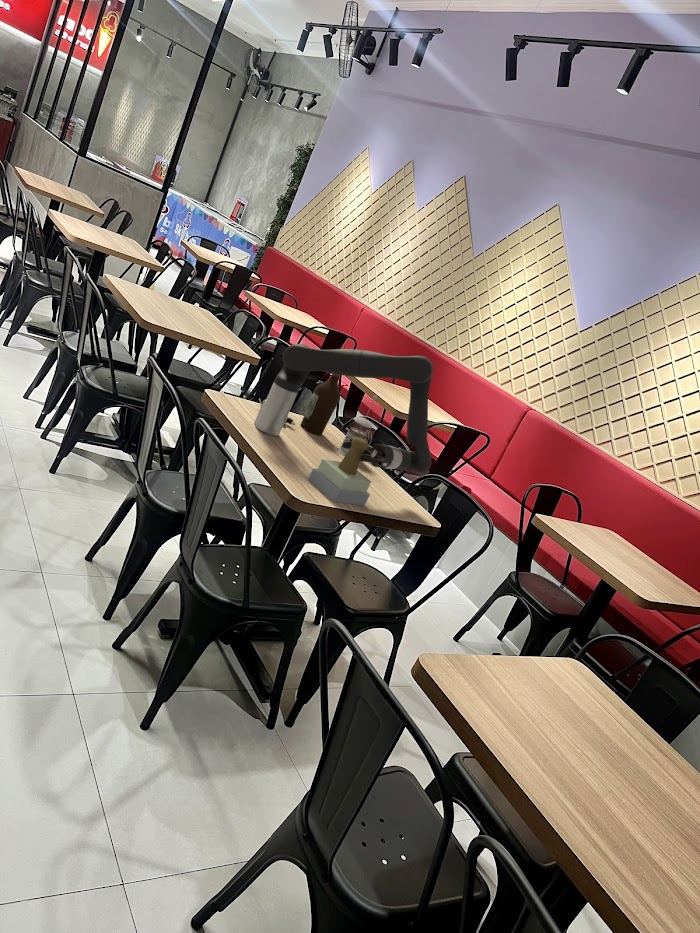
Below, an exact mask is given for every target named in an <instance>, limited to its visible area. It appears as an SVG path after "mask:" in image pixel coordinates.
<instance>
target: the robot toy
mask: <svg viewBox="0 0 700 933" xmlns="http://www.w3.org/2000/svg"><path fill="white" fill-rule="evenodd" d="M258 400H259V403H260V404H259V405H260V407H261V406H262V404H263V401H261V398H258ZM288 416H289V415H288ZM288 416H287V418H286V421H285V423H284V425H286V423H287V424H289V425H292V426H296V422H294V420H293V419H292V418H291V417H288Z"/></svg>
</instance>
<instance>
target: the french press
mask: <svg viewBox="0 0 700 933" xmlns="http://www.w3.org/2000/svg"><path fill="white" fill-rule="evenodd" d="M372 399H373V400H372V403H371V405H370V407H369V409H368V410H367V411H368V412H367V414H366V415H365V417H362V416H355V417H353V421H354V422H356V423H357V424H358V425H361V426H360V428H359V429H358V428H357V427H353V426H352V427H350V429H349V430H348V431H347V433H346V435H345V437H344V439H343V441H342V443H341V445H340V446H338V447H337V448H338V450H337V451H338V452H339V453H340V454H342V455H343V456H345V455H346V454H347V452H348V451H349V449H347V448H343V447H342V445H343V443H344V441H349V440H350V439H354V438H356V437H358V438H361V439H363V440H365V441H366V442H367V443H368V442H369V443H368V445H369V446H370V444H371V442H372V440H373V435H372V434H373V433H372V431H371V430H368V429H373V428H374V426H373V424H372V422H370V421H369V420H368V419H367V418H368V414H369V412H370V410H371V408H372V406H373V404H374V401H375V400H378V395H373V397H372ZM362 427H364V428H368V429H367V430H365V432H364V431H363V430H361V429H362ZM370 436H371V437H370ZM367 437H368V438H367ZM369 439H370V440H369Z"/></svg>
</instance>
